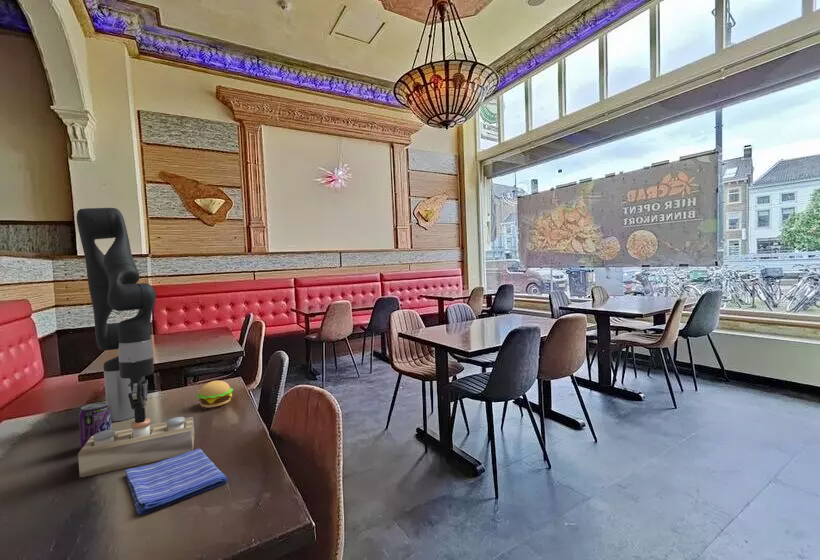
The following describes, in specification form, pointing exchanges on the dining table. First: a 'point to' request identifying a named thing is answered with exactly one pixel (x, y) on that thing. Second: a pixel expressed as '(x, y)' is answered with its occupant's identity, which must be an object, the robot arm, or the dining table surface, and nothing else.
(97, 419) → the beverage can
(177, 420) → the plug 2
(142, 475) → the dish towel
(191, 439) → the beech block
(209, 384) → the hamburger
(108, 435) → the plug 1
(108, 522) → the dining table surface
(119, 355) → the robot arm
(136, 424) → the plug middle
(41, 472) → the dining table surface
